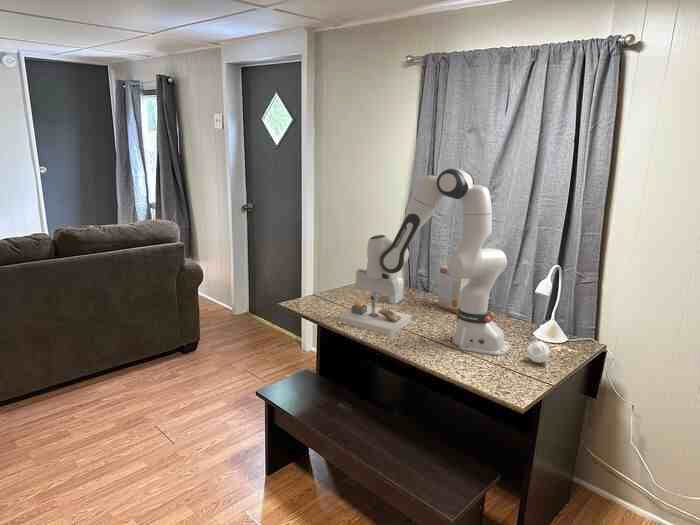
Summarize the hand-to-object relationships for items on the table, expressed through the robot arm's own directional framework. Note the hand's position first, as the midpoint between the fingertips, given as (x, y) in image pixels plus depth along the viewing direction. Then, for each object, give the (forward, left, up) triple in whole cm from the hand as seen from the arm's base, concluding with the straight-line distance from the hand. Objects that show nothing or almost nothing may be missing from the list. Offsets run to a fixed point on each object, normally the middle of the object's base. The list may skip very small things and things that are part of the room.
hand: (376, 301), depth 215 cm
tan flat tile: (-7, 0, -5) cm, 9 cm away
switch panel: (0, 0, -10) cm, 10 cm away
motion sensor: (-70, 0, -10) cm, 71 cm away
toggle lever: (+1, 0, -6) cm, 6 cm away
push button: (+9, 0, -5) cm, 10 cm away
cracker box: (-23, -36, -10) cm, 44 cm away
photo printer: (+5, -31, -10) cm, 33 cm away
